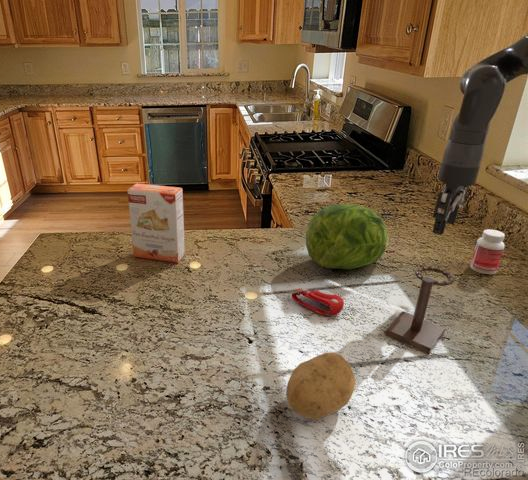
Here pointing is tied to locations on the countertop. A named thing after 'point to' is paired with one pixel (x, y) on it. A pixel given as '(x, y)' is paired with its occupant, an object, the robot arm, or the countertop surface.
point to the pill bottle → (488, 252)
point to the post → (417, 324)
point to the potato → (320, 386)
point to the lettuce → (346, 236)
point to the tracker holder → (319, 300)
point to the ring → (438, 271)
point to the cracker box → (157, 222)
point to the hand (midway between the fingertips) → (443, 228)
